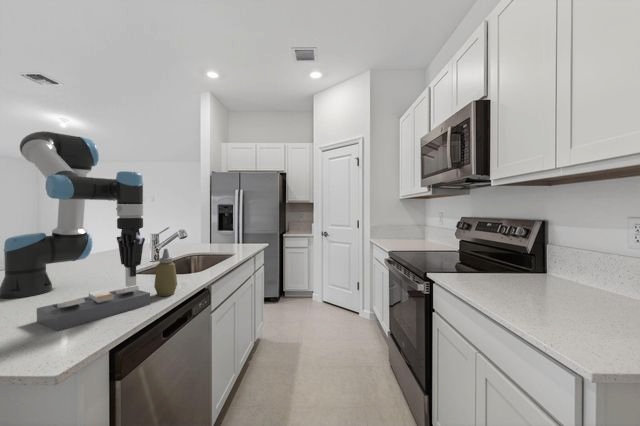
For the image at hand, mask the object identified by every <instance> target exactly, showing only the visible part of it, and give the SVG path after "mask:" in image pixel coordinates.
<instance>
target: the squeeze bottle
mask: <svg viewBox="0 0 640 426" xmlns="http://www.w3.org/2000/svg"><path fill="white" fill-rule="evenodd" d="M162 253H163V254H162V256H161V257H160V258H158V261H159V263H158V264H157V265H156V268H155V275H154V276H155V278H154V290H155V292H156V294H157V296H158V297H168V296H171V295H174V294H175V293H176V289H177V286H178V279H177V278H178V276H177V271H176V270H177V269H176V264H175V263H174V262H173V257H172V256H170V254H169V249H168V248H164V249H163V252H162Z"/></svg>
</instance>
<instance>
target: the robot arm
mask: <svg viewBox="0 0 640 426" xmlns="http://www.w3.org/2000/svg"><path fill="white" fill-rule="evenodd" d="M19 151H20V153H21V155H22V157H23V158H24V159H25V160H27V161H28V162H29V163H32V164H33V165H35V167H36V168H37V169H38V170H39V171H40V173H41V174H42V175H43V176H44V177H45V179H46V180H45V191H46V195H47V197H49V198H51V199H58V206H57V207H58V209H57V210H58V211H57V222H56V223H57V227H55V228H53V229H52V230H51V235H47V234H46V233H45V232H35V233H26V234H19V235H14V236H11V237H8V238H6V239H5V241H4V245H3V246H4V249H3V252H4V278H3V280H2V282H1V284H0V298H1V299H16V298H18V299H19V298H24V297H25V298H26V297H31V296H32V297H33V296H36V295H37V296H38V295H41V294H46V293H48V292H50V291H52V290H53V283H52V281H51V278H50V277H49V275H48V272H47V265H48V264H49V265H50V264H57V263H64V262H65V263H66V262H75V261H81V260H85V259H86V258H87V257H88V256H89V255H90V254H91V251H92V250H93V249H92V248H93V237H92V235H91V234H89V233H88V231H87V229H86V228H84V221H85V220H84V219H85V218H84V217H85V203H86V200H87V201H88V200H90V201H93V200H95V201H97V200H98V201H113V202H114V201H115V202H116V208H115V210H116V215H117V217H118V218H117V219H116V228H117V229H118V230H121V232H120V236H116V241H117V244H118V245H117V246H118V252H119V259H120V264H121V265H123V267H125V270H124V271H125V287H126V288H128V287H134V286H137V267H138V266H141V264H142V256H143V250H144V243H145V241H146V239H145V237H141V232H140V229H142V228H143V227H144V218H143V217H142V216H144V204H143V201H144V183H143V182H144V181H143V174H142V173H140V172H136V171H130V170H129V171H127V170H126V171H124V170H123V171H122V170H121V171H118V172H117V173H116V176H115V177H116V178H104V177H102V178H101V177H88V176H87V175H88V174H89V173H90V172H91V171H92V168H93V167H95V166H97V165H98V163H99V150H98V147H97V145H96V143H95V142H94V141H93V140H92V139H90V138H86V137H83V136H76V135H70V134H64V133H57V132H52V131H36V132H32V133H29V134H28V135H26V136H25V137H23V138H22V139H21V141H20V143H19Z"/></svg>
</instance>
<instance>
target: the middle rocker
mask: <svg viewBox="0 0 640 426" xmlns="http://www.w3.org/2000/svg"><path fill="white" fill-rule="evenodd" d="M109 292H110V291H107V290H106V289H99V290H95V291H92V292H88V296H89V297H90V298H92V299H93V300H95V301H96V302H97V303H100V302H104V301H108V300H112V299H113V298H114V296H113V295H112V294H110V293H109Z"/></svg>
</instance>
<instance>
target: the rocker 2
mask: <svg viewBox="0 0 640 426" xmlns="http://www.w3.org/2000/svg"><path fill="white" fill-rule="evenodd" d="M135 290H140V288H139V285H134V286H130V287H125V288H120V289H116V294H119V293H126V292H130V291H135Z"/></svg>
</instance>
